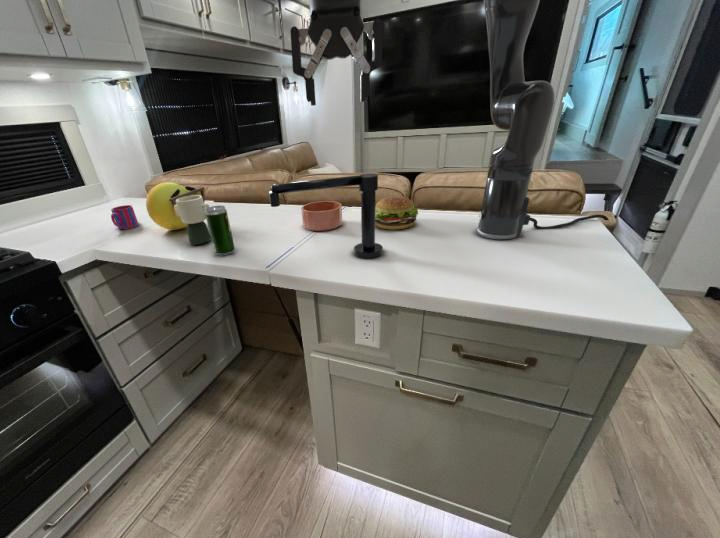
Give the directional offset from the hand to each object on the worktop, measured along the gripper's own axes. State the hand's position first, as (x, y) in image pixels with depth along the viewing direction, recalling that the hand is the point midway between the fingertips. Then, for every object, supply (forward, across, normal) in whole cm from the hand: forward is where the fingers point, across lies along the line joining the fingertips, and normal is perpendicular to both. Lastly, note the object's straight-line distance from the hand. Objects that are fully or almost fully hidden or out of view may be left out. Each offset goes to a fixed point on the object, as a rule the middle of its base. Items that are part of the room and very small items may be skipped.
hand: (338, 103), depth 55 cm
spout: (+18, -4, +10) cm, 21 cm away
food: (+32, +15, +33) cm, 49 cm away
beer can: (+33, -32, +18) cm, 49 cm away
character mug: (+33, -42, +27) cm, 59 cm away
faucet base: (+32, +6, +12) cm, 35 cm away
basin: (+32, -6, +36) cm, 49 cm away
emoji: (+33, -55, +42) cm, 76 cm away
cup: (+33, -77, +47) cm, 96 cm away
